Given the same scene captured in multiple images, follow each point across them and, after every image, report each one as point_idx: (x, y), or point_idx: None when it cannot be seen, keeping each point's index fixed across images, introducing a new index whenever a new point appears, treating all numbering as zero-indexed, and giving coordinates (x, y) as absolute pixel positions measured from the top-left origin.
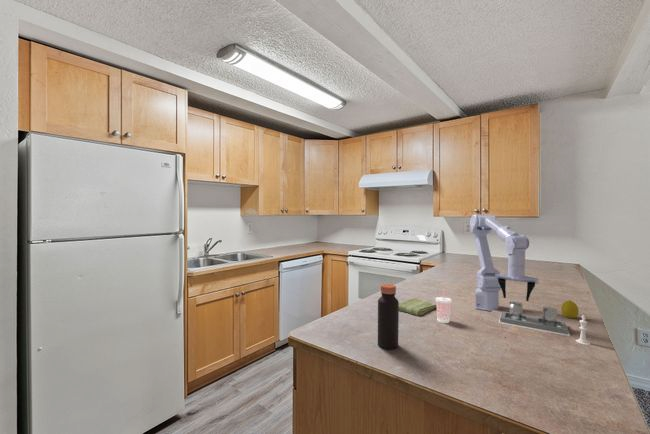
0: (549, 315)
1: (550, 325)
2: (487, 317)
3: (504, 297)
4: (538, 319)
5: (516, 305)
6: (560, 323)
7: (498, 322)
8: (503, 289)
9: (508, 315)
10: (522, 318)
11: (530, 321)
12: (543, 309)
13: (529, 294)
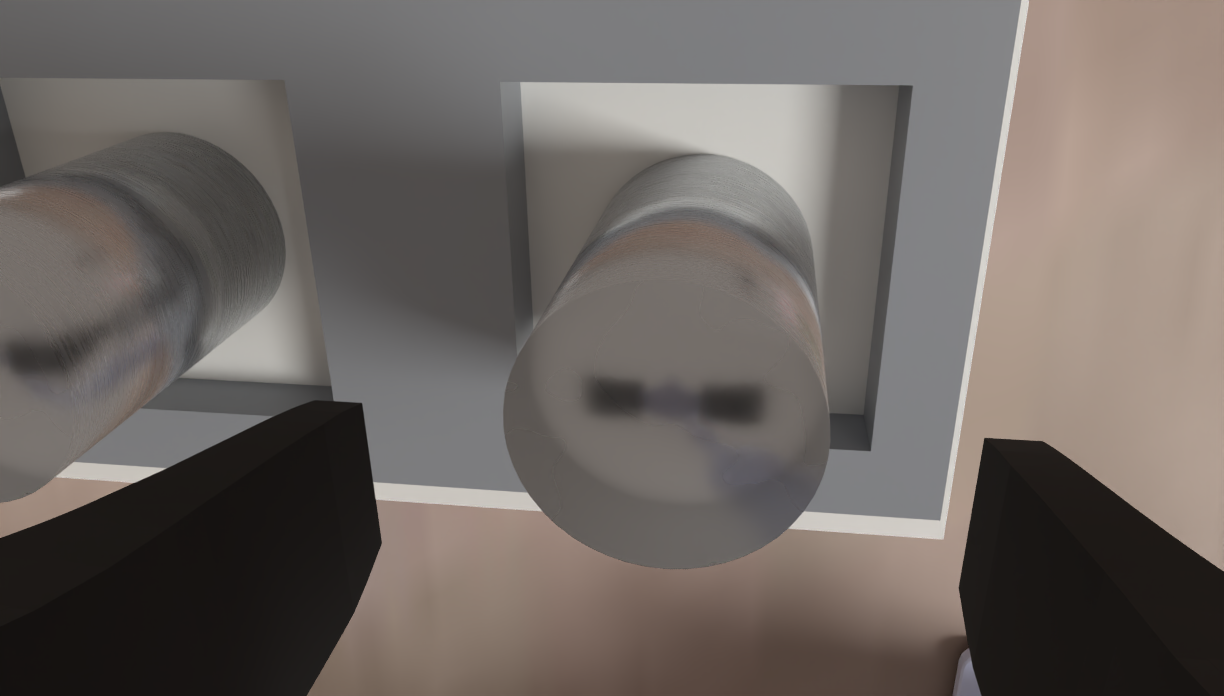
0: (6, 199)
1: (126, 148)
2: (1204, 294)
3: (1023, 447)
4: None
5: (650, 272)
6: None
7: None
8: (1212, 616)
9: None
10: None
11: (426, 139)
12: (66, 321)
13: (122, 493)
